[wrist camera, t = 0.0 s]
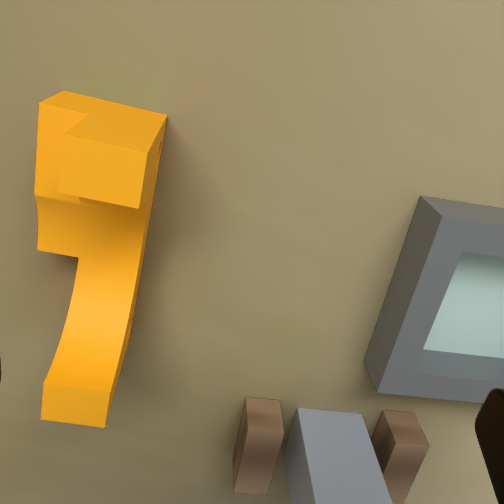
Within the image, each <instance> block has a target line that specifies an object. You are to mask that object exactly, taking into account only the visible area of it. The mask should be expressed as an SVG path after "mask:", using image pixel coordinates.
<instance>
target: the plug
mask: <svg viewBox="0 0 504 504" xmlns="http://www.w3.org/2000/svg"><path fill="white" fill-rule="evenodd" d="M284 458H285V465H286V473H287V480H288V487H289V494H290V502H291V504H393V503H392V501H391V498H390V495H389V492H388V489H387V486H386V483H385V480H384V477H383V475H382V472H381V469H380V466H379V463H378V460H377V457H376V454H375V451H374V449H373V446H372V443H371V440H370V437H369V434H368V431H367V428H366V425H365V423H364V420H363V417H362V414H358V413H348V412H337V411H326V410H315V409H304V408H297V411H296V415H295V418H294V422H293V425H292V429H291V432H290V436H289V440H288V443H287V447H286V450H285V454H284Z"/></svg>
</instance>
